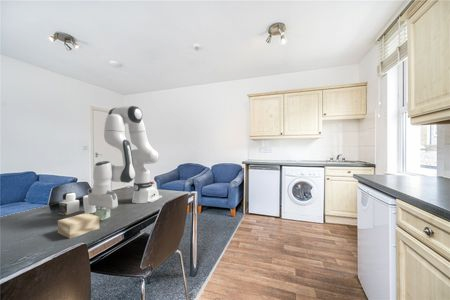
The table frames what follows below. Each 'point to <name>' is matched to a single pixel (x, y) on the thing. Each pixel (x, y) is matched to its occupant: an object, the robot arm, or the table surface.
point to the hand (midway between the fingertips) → (103, 214)
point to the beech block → (78, 225)
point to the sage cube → (102, 213)
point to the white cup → (88, 206)
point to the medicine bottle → (69, 204)
